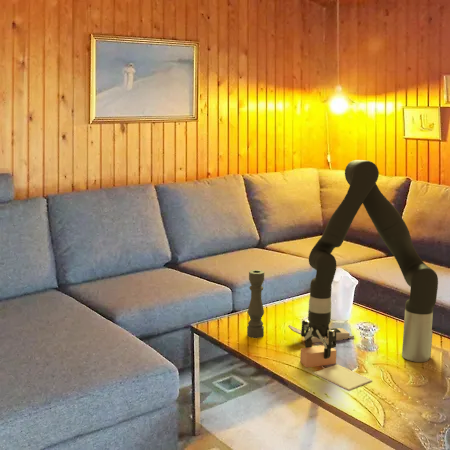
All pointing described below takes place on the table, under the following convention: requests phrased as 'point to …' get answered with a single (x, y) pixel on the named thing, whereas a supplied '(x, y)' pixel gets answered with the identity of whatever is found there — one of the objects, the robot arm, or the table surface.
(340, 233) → the robot arm
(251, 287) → the candle holder
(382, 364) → the table surface
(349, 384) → the beige flat plate
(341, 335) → the mobile phone
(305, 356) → the card box
